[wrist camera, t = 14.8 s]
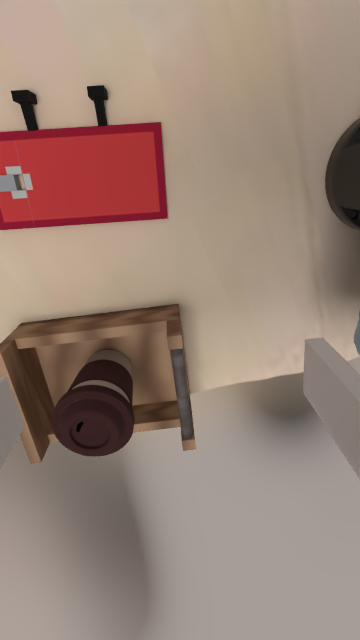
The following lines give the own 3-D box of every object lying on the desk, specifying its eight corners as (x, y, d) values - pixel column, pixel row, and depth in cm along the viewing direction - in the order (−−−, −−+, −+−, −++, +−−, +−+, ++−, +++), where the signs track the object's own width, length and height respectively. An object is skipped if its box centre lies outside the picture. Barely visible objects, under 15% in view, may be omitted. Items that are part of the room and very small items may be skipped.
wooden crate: (178, 304, 50) (181, 335, 40) (190, 401, 57) (195, 449, 47) (21, 323, 50) (-16, 358, 40) (52, 418, 57) (28, 469, 47)
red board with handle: (-96, 103, 39) (-52, 232, 45) (-114, 98, 37) (-65, 235, 43) (157, 88, 40) (167, 217, 46) (157, 82, 37) (167, 219, 44)
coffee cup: (152, 378, 54) (148, 446, 40) (100, 403, 55) (78, 478, 41) (119, 329, 50) (102, 386, 36) (64, 358, 52) (28, 422, 38)
